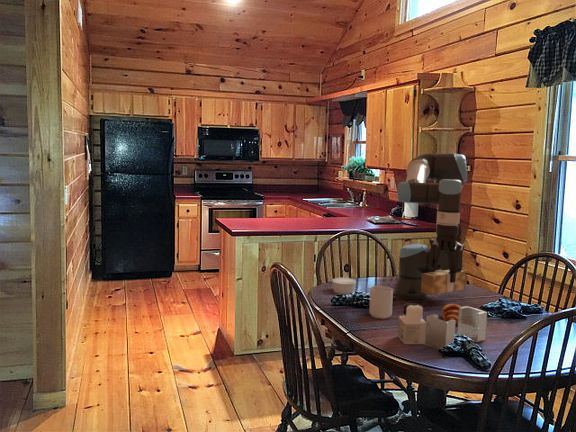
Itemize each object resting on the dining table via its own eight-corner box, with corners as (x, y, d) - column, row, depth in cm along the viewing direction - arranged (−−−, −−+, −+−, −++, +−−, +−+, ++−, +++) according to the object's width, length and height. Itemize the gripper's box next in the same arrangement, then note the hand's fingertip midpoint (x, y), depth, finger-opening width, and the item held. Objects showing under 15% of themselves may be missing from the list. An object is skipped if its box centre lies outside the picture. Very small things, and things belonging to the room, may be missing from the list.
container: (397, 336, 192) (399, 301, 190) (418, 336, 193) (420, 301, 191) (403, 344, 184) (405, 307, 183) (425, 344, 185) (428, 307, 183)
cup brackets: (464, 332, 197) (466, 305, 196) (485, 339, 191) (487, 312, 189) (425, 344, 185) (426, 316, 183) (445, 352, 178) (446, 322, 176)
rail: (454, 286, 196) (456, 268, 196) (465, 289, 193) (466, 271, 192) (420, 292, 186) (421, 273, 186) (431, 295, 183) (432, 276, 182)
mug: (390, 320, 210) (391, 292, 208) (367, 317, 212) (368, 290, 211) (394, 311, 221) (395, 285, 219) (372, 309, 224) (373, 283, 222)
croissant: (448, 319, 224) (440, 301, 225) (472, 311, 220) (463, 293, 221) (443, 334, 204) (434, 314, 205) (468, 325, 201) (459, 305, 201)
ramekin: (340, 296, 242) (341, 284, 241) (326, 290, 252) (327, 279, 251) (360, 293, 248) (361, 282, 247) (346, 287, 257) (346, 276, 257)
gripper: (421, 221, 192) (417, 285, 195) (461, 227, 178) (457, 296, 180) (435, 220, 196) (431, 283, 199) (476, 226, 182) (471, 294, 184)
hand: (443, 289), depth 190 cm, fingers closed on rail, 4 cm apart
